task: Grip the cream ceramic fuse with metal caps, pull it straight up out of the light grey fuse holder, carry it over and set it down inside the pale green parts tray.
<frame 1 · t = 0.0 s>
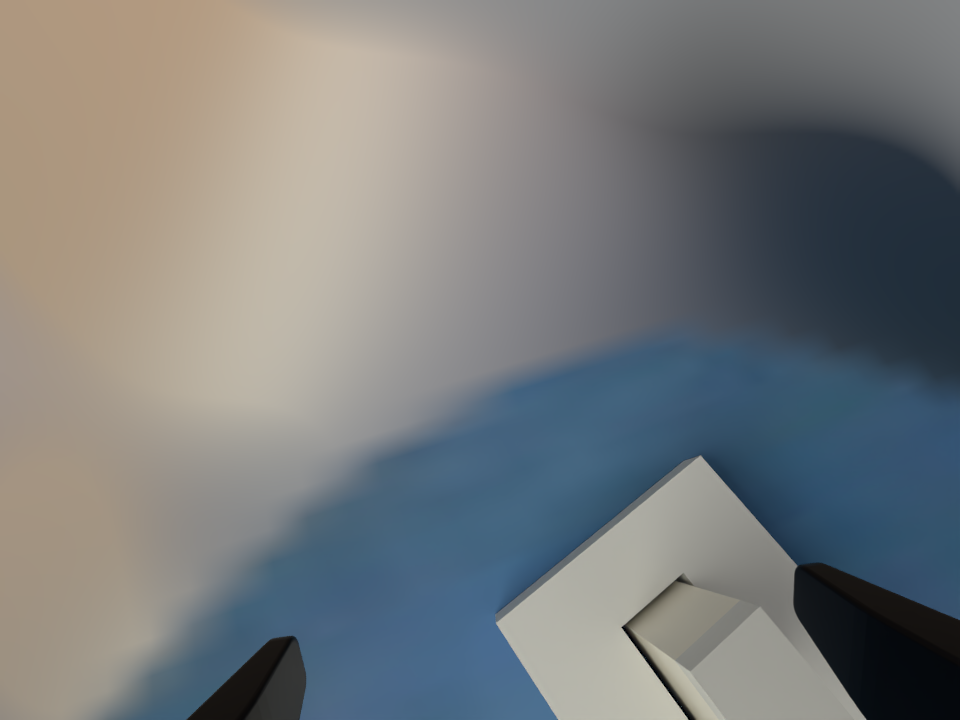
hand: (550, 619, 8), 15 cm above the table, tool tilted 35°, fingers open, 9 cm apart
fuse: (722, 675, 17), in the fuse holder
fuse holder: (680, 648, 21), on the table
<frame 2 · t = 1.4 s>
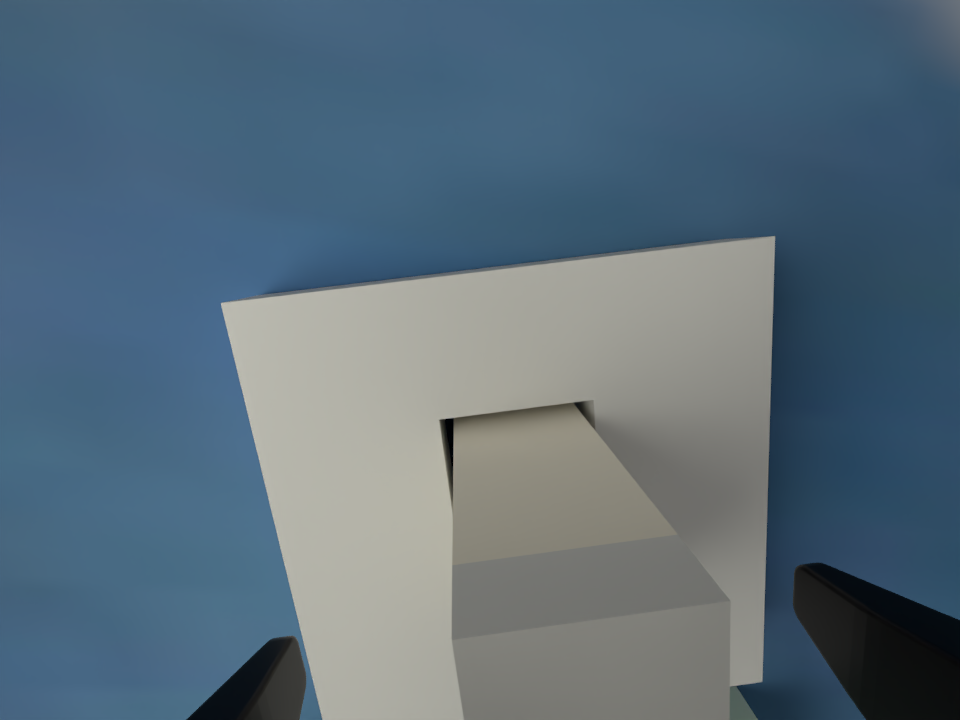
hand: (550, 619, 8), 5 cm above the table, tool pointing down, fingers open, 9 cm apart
fuse: (542, 571, 9), in the fuse holder
fuse holder: (517, 479, 13), on the table
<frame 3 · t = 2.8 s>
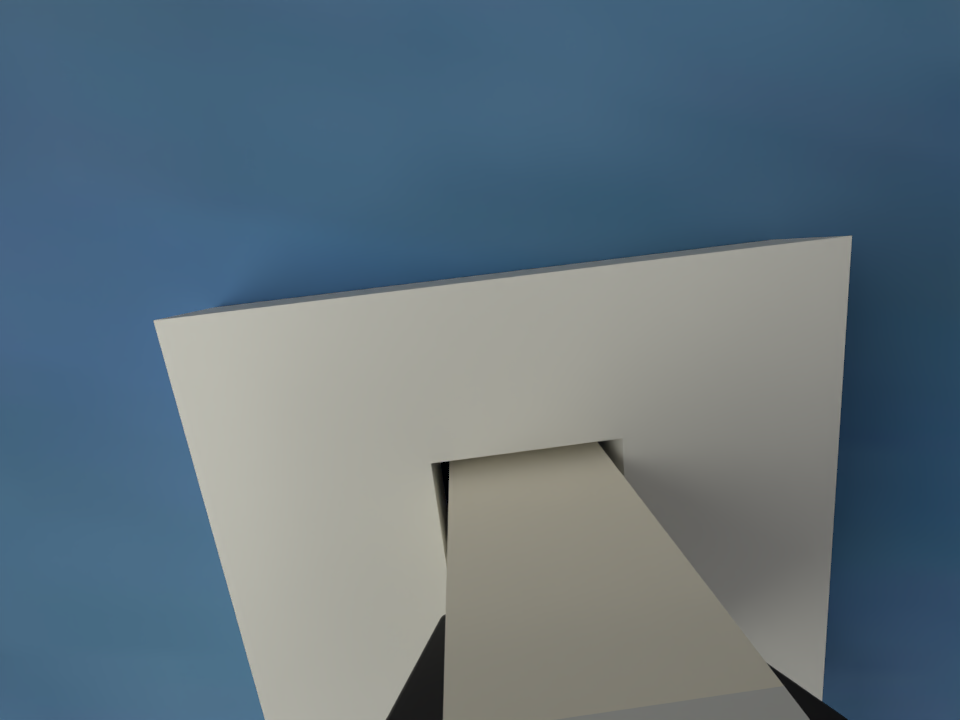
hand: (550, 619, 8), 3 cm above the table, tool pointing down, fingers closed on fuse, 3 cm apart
fuse: (562, 666, 7), in the fuse holder, touching gripper
fuse holder: (525, 523, 11), on the table
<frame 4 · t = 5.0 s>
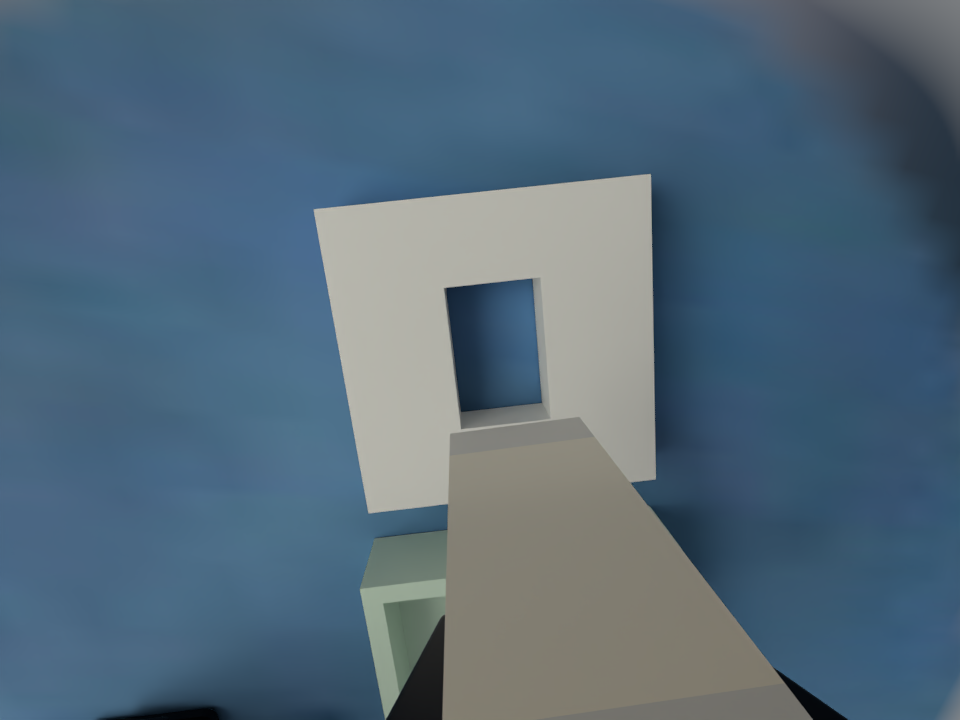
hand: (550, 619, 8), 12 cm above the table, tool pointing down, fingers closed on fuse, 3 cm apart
fuse: (562, 664, 7), point 13 cm above the table, touching gripper
fuse holder: (495, 345, 20), on the table
parts tray: (524, 636, 23), on the table
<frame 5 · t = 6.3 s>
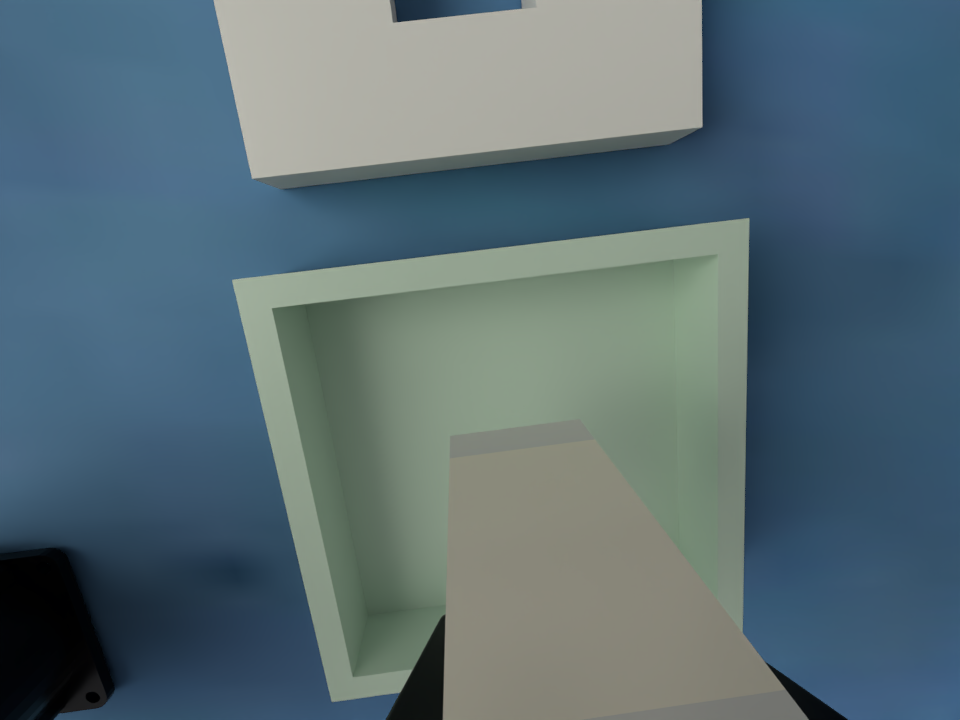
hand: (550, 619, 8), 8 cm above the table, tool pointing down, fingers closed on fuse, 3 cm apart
fuse: (563, 668, 7), point 9 cm above the table, touching gripper
parts tray: (506, 439, 16), on the table
when the fingers open (5 cm above the table, at t = 7.4 s): fuse drops 1 cm, resting on parts tray.
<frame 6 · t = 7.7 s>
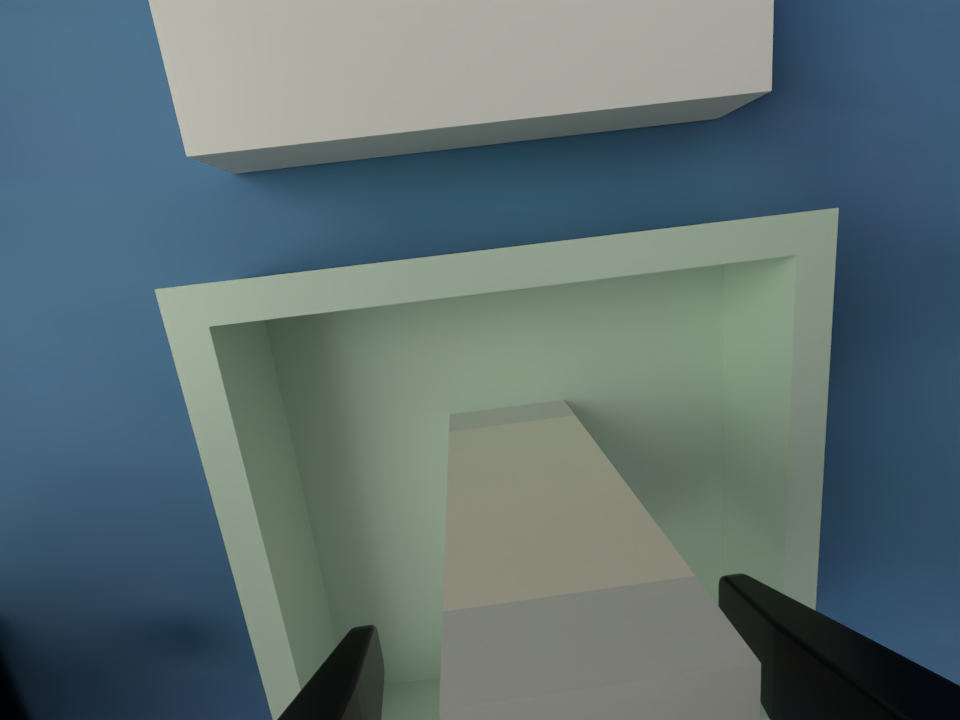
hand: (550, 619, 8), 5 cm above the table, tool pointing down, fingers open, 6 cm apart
fuse: (543, 600, 9), in the parts tray, point 5 cm above the table
parts tray: (514, 478, 13), on the table
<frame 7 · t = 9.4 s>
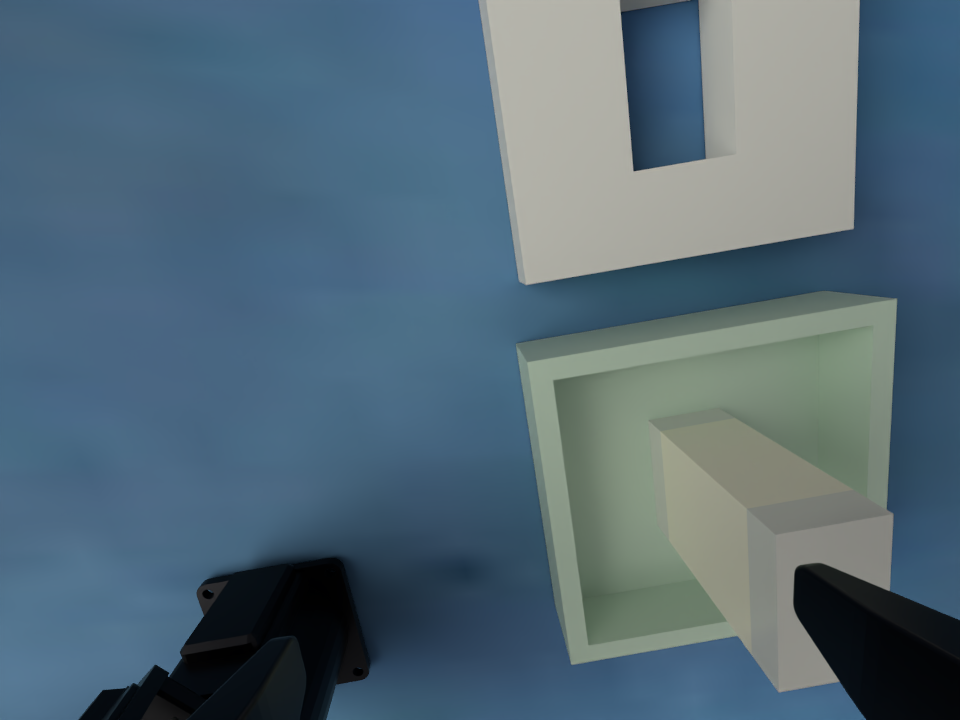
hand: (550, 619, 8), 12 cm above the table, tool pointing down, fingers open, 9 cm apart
fuse: (742, 520, 16), in the parts tray, point 5 cm above the table
fuse holder: (654, 93, 17), on the table
parts tray: (679, 459, 21), on the table
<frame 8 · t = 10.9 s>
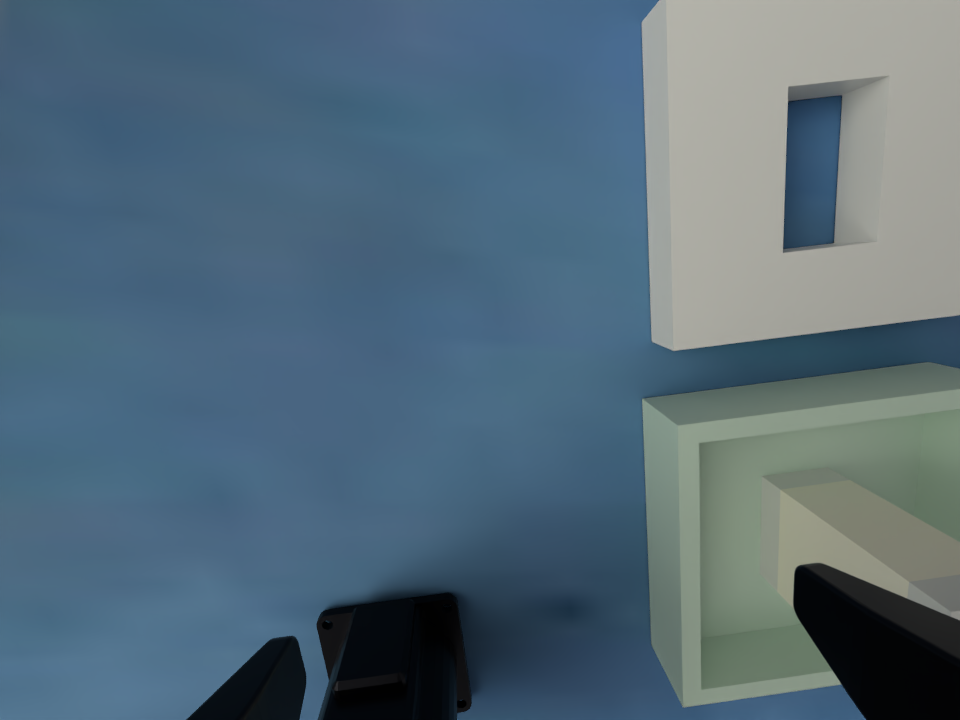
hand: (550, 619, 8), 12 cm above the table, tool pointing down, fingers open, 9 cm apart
fuse: (869, 582, 17), in the parts tray, point 5 cm above the table
fuse holder: (794, 176, 18), on the table
parts tray: (781, 511, 22), on the table
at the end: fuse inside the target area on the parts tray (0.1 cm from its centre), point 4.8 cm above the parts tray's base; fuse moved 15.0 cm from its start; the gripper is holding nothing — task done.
